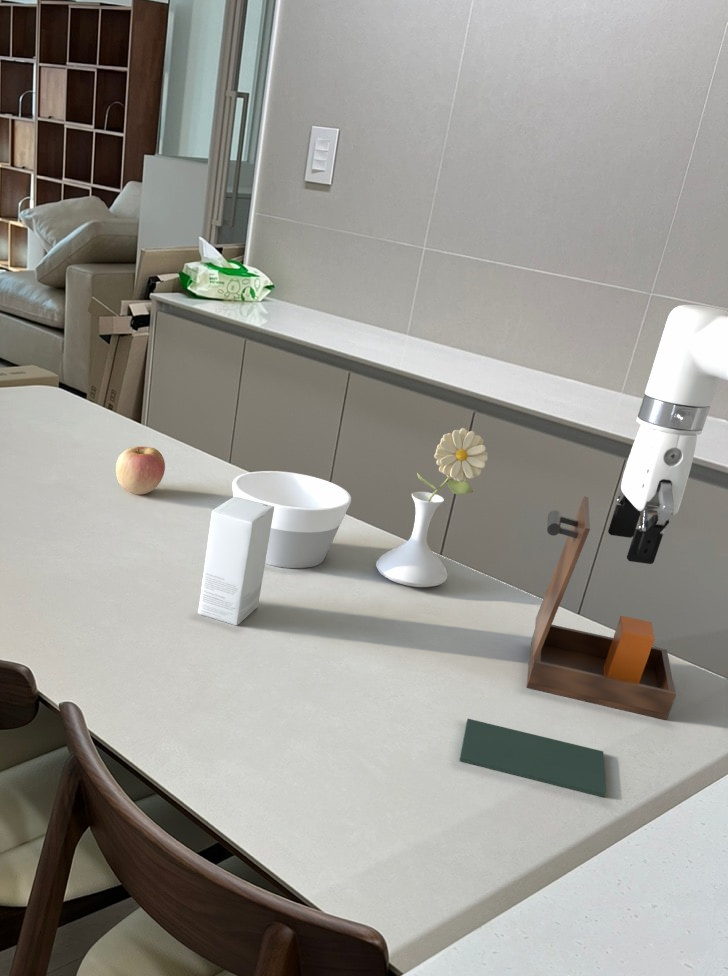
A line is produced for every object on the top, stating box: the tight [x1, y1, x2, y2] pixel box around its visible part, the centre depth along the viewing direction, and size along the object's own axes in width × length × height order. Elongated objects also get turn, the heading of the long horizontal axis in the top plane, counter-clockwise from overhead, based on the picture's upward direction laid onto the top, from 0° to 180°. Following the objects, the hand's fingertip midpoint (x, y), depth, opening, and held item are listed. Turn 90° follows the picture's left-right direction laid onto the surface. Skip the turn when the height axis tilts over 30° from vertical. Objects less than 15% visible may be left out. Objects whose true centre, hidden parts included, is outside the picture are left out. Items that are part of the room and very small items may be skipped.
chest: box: [526, 624, 677, 721], centre depth 143 cm, size 18×15×4 cm
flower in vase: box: [375, 427, 489, 588], centre depth 164 cm, size 13×11×25 cm
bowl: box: [231, 470, 352, 569], centre depth 172 cm, size 19×19×11 cm
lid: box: [533, 495, 591, 660], centre depth 140 cm, size 18×15×4 cm
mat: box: [459, 718, 606, 798], centre depth 123 cm, size 16×10×1 cm, turn 72°
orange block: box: [603, 615, 655, 684], centre depth 141 cm, size 4×6×8 cm, turn 162°
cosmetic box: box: [197, 495, 274, 626], centre depth 147 cm, size 8×7×16 cm
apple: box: [115, 445, 166, 495], centre depth 192 cm, size 9×9×8 cm
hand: (629, 548), depth 135 cm, fingers open, 9 cm apart
